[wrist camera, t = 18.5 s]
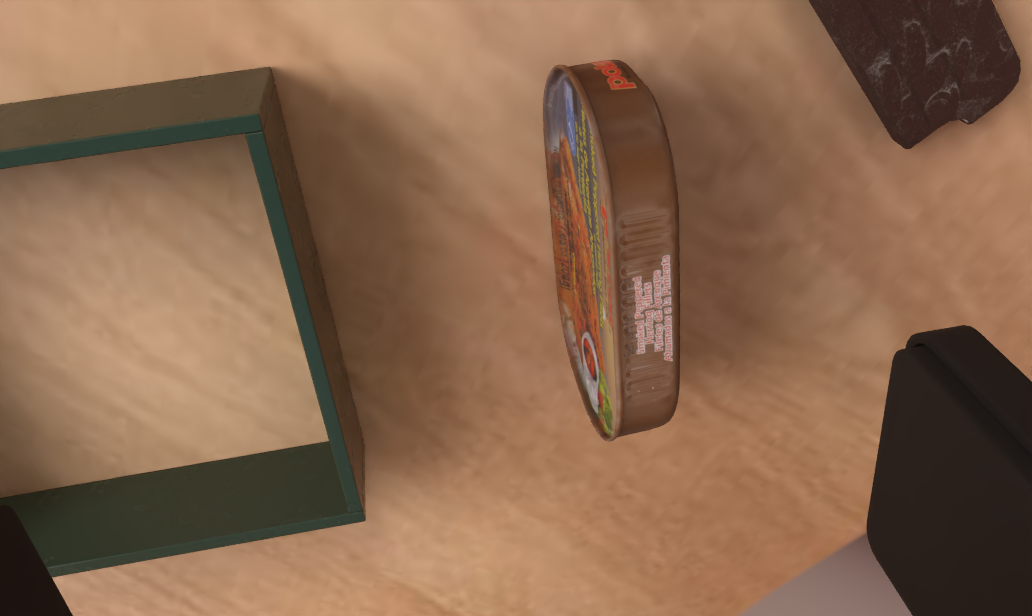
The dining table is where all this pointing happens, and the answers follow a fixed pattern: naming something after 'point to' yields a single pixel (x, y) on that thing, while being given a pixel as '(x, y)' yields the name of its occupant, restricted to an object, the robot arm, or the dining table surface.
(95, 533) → the box
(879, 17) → the ice cream bar
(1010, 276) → the dining table surface
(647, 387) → the tin
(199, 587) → the dining table surface
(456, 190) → the dining table surface
